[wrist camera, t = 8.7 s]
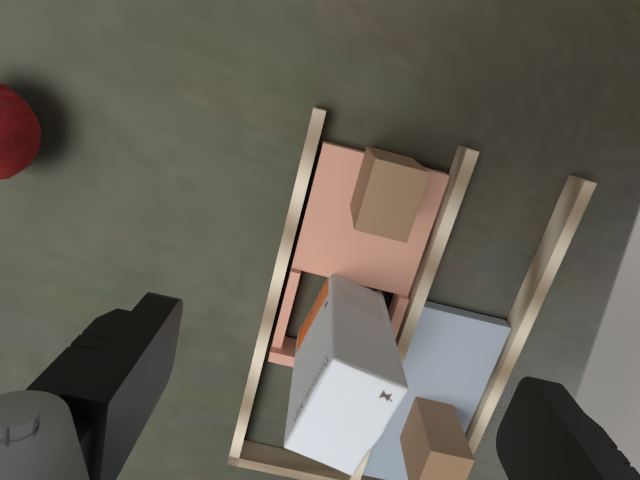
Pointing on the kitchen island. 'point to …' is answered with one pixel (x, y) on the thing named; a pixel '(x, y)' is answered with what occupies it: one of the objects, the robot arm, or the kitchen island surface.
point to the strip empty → (439, 396)
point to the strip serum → (363, 228)
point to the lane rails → (412, 305)
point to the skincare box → (343, 376)
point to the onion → (16, 133)
